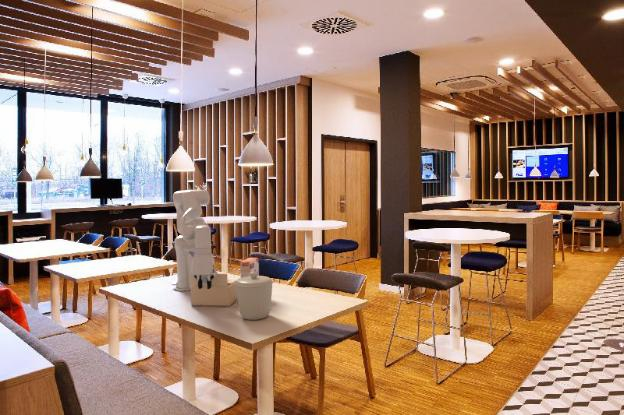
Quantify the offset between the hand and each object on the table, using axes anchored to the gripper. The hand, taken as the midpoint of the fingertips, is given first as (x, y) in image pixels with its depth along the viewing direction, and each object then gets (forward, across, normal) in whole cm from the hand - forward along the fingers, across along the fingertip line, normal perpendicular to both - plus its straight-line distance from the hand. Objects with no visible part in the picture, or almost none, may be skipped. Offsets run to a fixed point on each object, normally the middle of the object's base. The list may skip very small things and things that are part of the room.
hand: (204, 288), depth 221 cm
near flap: (-3, 0, +6) cm, 6 cm away
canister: (+11, +28, -9) cm, 31 cm away
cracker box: (+11, +16, +23) cm, 30 cm away
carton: (+11, 0, +12) cm, 16 cm away
